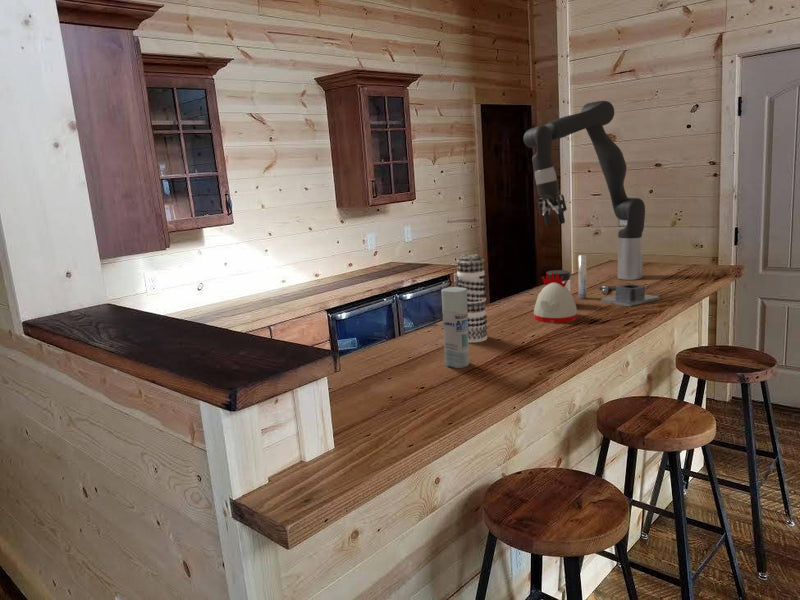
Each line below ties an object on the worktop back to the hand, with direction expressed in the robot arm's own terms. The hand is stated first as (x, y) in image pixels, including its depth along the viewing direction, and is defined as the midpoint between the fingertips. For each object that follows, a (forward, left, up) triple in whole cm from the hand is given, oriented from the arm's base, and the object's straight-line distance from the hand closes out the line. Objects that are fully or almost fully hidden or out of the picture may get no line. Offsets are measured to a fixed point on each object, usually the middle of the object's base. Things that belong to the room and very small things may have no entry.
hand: (555, 224), depth 233 cm
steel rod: (-2, +11, -27) cm, 29 cm away
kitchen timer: (+25, +25, -27) cm, 45 cm away
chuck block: (-11, +25, -27) cm, 39 cm away
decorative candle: (+60, +27, -27) cm, 71 cm away
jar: (+12, +13, -27) cm, 33 cm away
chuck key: (-17, +9, -27) cm, 33 cm away
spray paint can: (+78, +44, -27) cm, 94 cm away
